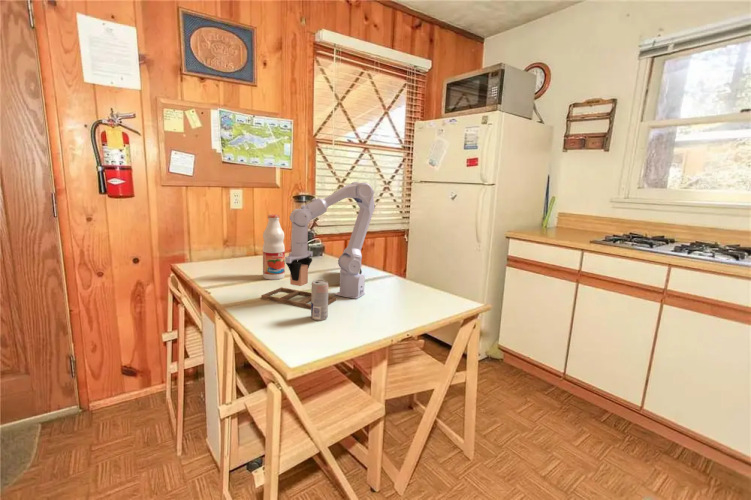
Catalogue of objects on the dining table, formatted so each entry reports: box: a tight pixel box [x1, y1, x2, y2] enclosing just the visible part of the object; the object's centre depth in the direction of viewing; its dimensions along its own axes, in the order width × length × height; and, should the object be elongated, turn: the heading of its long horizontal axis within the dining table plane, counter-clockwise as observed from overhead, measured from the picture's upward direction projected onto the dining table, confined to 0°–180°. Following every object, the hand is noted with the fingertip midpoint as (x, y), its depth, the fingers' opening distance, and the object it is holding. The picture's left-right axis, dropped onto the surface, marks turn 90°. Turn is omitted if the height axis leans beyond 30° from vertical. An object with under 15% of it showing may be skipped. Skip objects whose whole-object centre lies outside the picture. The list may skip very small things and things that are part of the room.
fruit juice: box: [262, 214, 286, 281], centre depth 161 cm, size 9×9×28 cm
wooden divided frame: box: [260, 286, 337, 309], centre depth 135 cm, size 25×12×1 cm, turn 67°
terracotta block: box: [289, 264, 309, 287], centre depth 134 cm, size 4×4×7 cm
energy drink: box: [310, 279, 329, 322], centre depth 117 cm, size 5×5×12 cm
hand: (299, 278), depth 134 cm, fingers closed on terracotta block, 4 cm apart
